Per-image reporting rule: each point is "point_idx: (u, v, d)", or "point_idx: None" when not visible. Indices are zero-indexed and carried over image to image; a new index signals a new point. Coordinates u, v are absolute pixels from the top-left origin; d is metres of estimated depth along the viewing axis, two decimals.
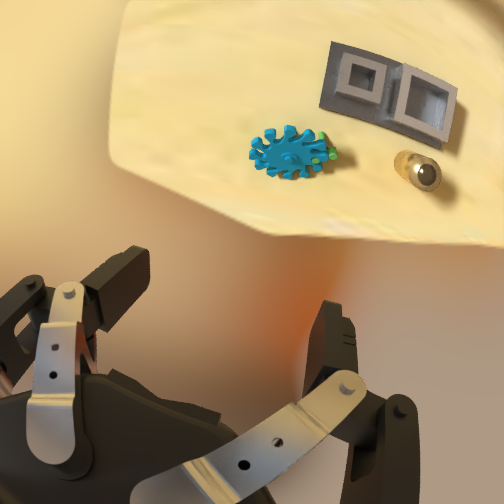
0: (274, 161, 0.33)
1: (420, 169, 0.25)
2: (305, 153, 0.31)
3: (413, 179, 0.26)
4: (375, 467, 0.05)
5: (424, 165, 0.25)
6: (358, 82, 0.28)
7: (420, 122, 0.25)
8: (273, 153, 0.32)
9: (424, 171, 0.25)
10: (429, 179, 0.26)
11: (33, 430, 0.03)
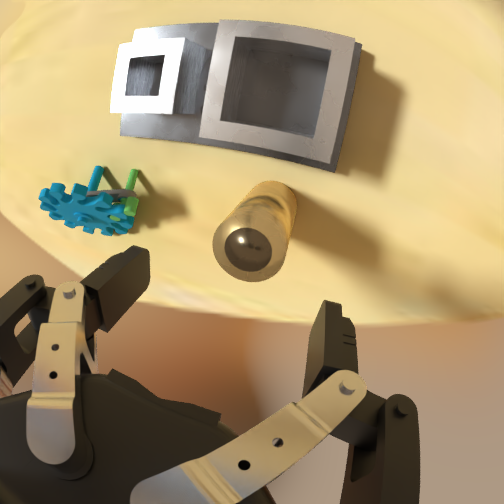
0: (76, 220, 0.23)
1: (229, 241, 0.15)
2: (94, 212, 0.21)
3: (218, 260, 0.15)
4: (375, 467, 0.05)
5: (237, 232, 0.14)
6: None
7: (257, 130, 0.15)
8: (65, 214, 0.21)
9: (239, 244, 0.15)
10: (257, 258, 0.15)
11: (33, 430, 0.03)
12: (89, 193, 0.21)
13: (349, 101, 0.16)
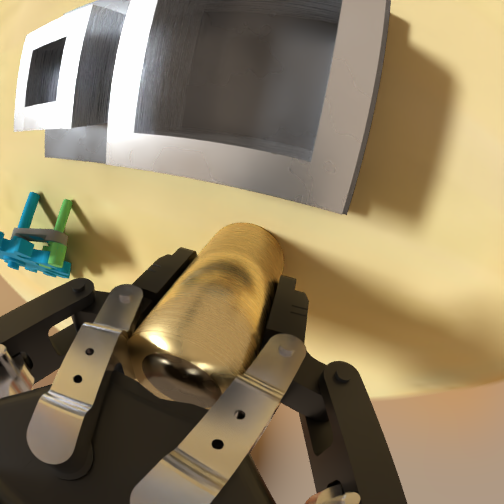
0: None
1: (148, 366, 0.07)
2: (20, 258, 0.13)
3: (141, 382, 0.08)
4: (334, 438, 0.06)
5: (156, 358, 0.07)
6: None
7: (196, 146, 0.07)
8: None
9: (164, 373, 0.07)
10: (198, 393, 0.07)
11: (33, 430, 0.03)
12: (18, 230, 0.14)
13: (374, 90, 0.08)
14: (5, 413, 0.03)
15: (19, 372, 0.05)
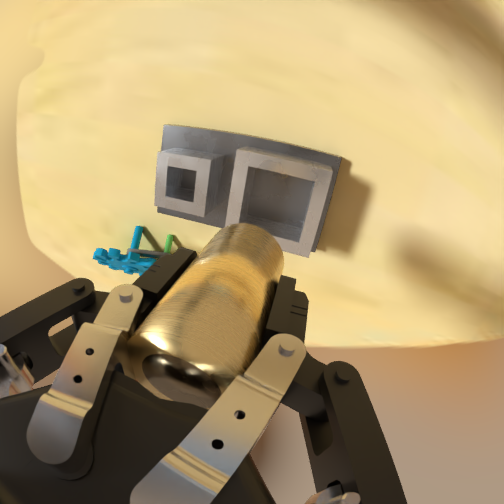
0: (121, 268, 0.32)
1: (147, 366, 0.07)
2: (141, 267, 0.30)
3: (141, 382, 0.08)
4: (334, 438, 0.06)
5: (156, 358, 0.07)
6: (196, 177, 0.27)
7: None
8: (114, 264, 0.30)
9: (164, 374, 0.07)
10: (198, 394, 0.07)
11: (33, 430, 0.03)
12: (135, 250, 0.31)
13: (327, 204, 0.25)
14: (5, 413, 0.03)
15: (19, 372, 0.05)
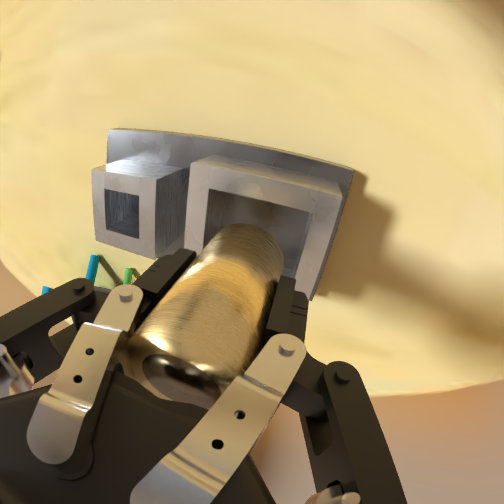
0: None
1: (148, 366, 0.07)
2: None
3: (141, 383, 0.08)
4: (334, 438, 0.06)
5: (156, 358, 0.07)
6: None
7: None
8: None
9: (164, 374, 0.07)
10: (198, 394, 0.07)
11: (33, 430, 0.03)
12: None
13: (331, 238, 0.18)
14: (5, 413, 0.03)
15: (19, 372, 0.05)
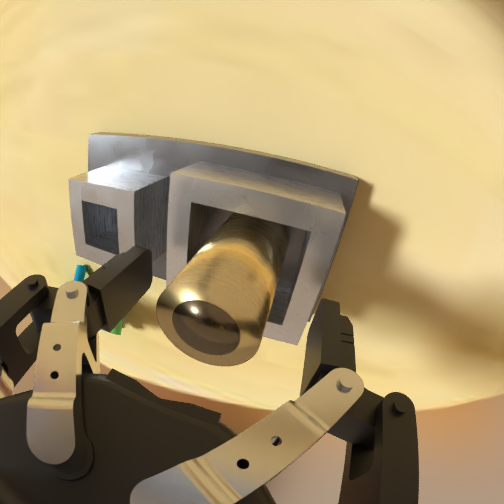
0: None
1: (178, 315, 0.09)
2: None
3: (168, 336, 0.10)
4: (373, 465, 0.05)
5: (187, 305, 0.09)
6: None
7: None
8: None
9: (192, 321, 0.09)
10: (219, 339, 0.10)
11: (33, 430, 0.03)
12: None
13: (332, 255, 0.16)
14: (1, 413, 0.03)
15: (0, 375, 0.05)
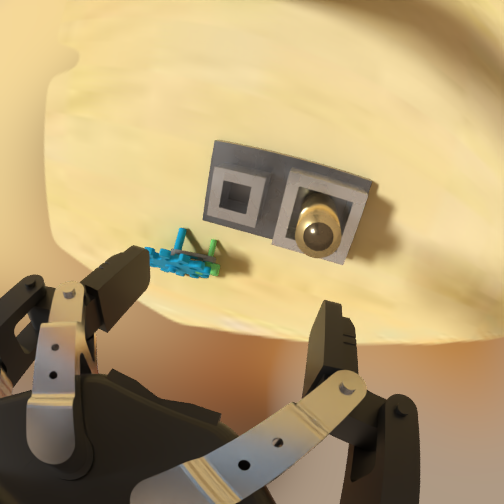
0: (162, 266, 0.35)
1: (307, 230, 0.23)
2: (186, 268, 0.33)
3: (297, 243, 0.23)
4: (375, 467, 0.05)
5: (313, 225, 0.22)
6: (243, 190, 0.31)
7: None
8: (158, 262, 0.34)
9: (313, 232, 0.23)
10: (323, 242, 0.23)
11: (33, 430, 0.03)
12: (179, 251, 0.34)
13: None
14: (1, 413, 0.03)
15: None
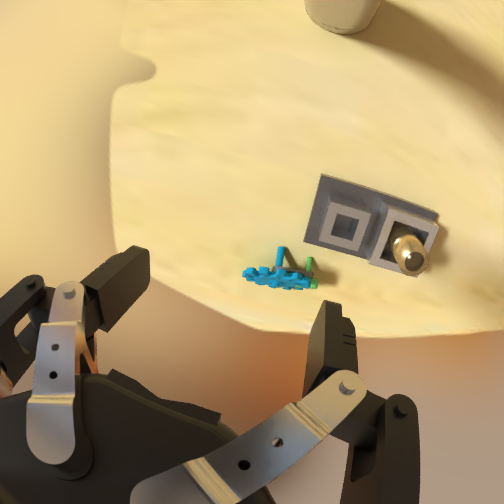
0: (263, 281, 0.41)
1: (408, 257, 0.28)
2: (290, 283, 0.39)
3: (400, 266, 0.29)
4: (375, 467, 0.05)
5: (412, 253, 0.28)
6: (342, 219, 0.36)
7: (393, 264, 0.33)
8: (263, 279, 0.39)
9: (412, 259, 0.28)
10: (416, 265, 0.28)
11: (33, 430, 0.03)
12: (283, 268, 0.39)
13: None
14: (1, 413, 0.03)
15: None
